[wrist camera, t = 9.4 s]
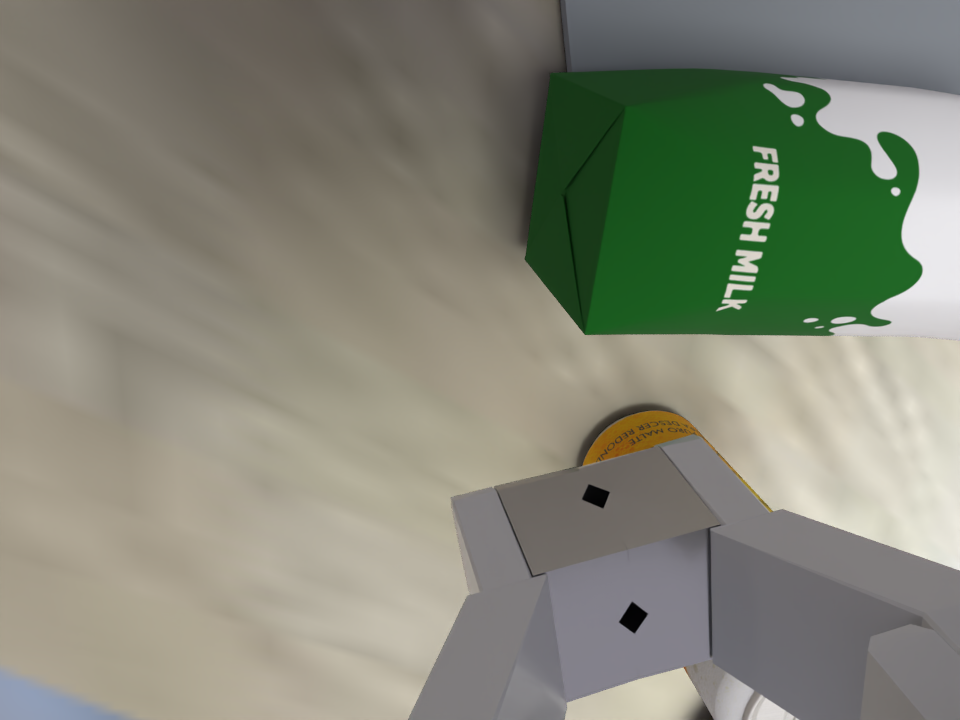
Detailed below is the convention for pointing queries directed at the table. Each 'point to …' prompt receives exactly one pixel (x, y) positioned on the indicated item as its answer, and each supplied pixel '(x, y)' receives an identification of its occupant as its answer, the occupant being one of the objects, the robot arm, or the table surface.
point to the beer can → (731, 702)
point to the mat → (772, 38)
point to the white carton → (748, 205)
